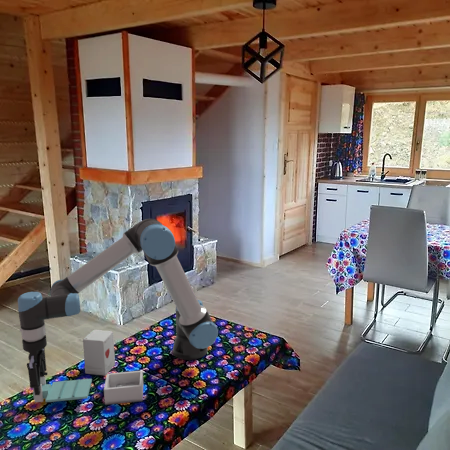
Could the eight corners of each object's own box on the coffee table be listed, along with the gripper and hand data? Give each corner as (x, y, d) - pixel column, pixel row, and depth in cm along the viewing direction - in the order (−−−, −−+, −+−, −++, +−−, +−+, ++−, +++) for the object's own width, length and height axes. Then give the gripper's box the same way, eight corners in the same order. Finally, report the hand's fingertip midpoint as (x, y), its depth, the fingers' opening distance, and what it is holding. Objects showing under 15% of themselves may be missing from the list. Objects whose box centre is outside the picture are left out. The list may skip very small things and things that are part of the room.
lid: (92, 382, 158) (91, 375, 157) (87, 400, 147) (86, 392, 146) (39, 387, 155) (38, 379, 154) (30, 406, 144) (29, 398, 144)
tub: (143, 384, 160) (142, 370, 159) (142, 401, 151) (141, 386, 150) (108, 388, 159) (107, 373, 157) (105, 404, 149) (103, 389, 148)
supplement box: (105, 376, 166) (103, 341, 163) (84, 373, 168) (81, 339, 165) (116, 364, 175) (113, 330, 172) (96, 361, 177) (93, 328, 173)
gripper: (29, 326, 152) (36, 384, 158) (14, 350, 136) (22, 413, 141) (51, 325, 154) (57, 382, 159) (38, 348, 137) (45, 411, 142)
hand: (40, 397), depth 150 cm, fingers closed on lid, 4 cm apart
